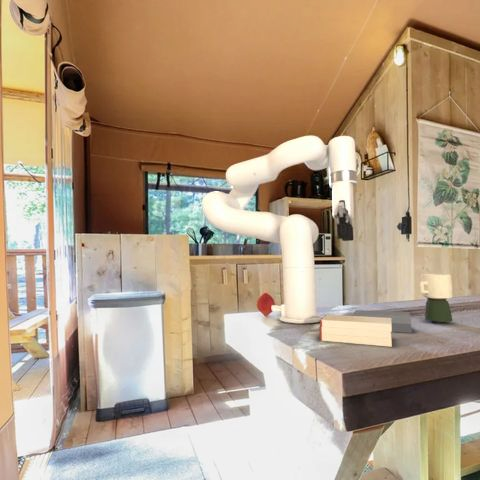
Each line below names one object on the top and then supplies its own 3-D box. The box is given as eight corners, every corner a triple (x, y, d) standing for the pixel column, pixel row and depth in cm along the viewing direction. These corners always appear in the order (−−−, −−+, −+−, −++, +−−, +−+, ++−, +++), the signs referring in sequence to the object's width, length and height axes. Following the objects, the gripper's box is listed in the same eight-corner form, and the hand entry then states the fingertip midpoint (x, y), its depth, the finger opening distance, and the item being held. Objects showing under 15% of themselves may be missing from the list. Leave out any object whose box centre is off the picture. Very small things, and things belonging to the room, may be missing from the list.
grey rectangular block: (351, 329, 78) (351, 313, 78) (353, 324, 83) (353, 309, 83) (411, 333, 72) (410, 315, 72) (409, 328, 77) (408, 312, 77)
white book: (319, 326, 67) (319, 319, 67) (326, 320, 74) (325, 314, 74) (391, 331, 61) (391, 324, 61) (391, 324, 67) (391, 317, 68)
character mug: (441, 318, 88) (438, 273, 89) (466, 323, 81) (462, 274, 82) (411, 321, 85) (408, 274, 86) (434, 326, 78) (431, 275, 79)
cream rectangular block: (319, 340, 67) (319, 326, 67) (325, 333, 74) (325, 320, 74) (391, 346, 61) (390, 331, 61) (391, 338, 67) (390, 324, 67)
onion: (275, 314, 101) (274, 290, 102) (275, 317, 96) (274, 291, 96) (257, 314, 102) (256, 290, 103) (257, 317, 96) (256, 292, 97)
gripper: (334, 188, 97) (336, 241, 96) (324, 175, 82) (327, 238, 81) (359, 185, 94) (362, 240, 93) (354, 170, 79) (357, 237, 77)
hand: (345, 239), depth 87 cm, fingers open, 9 cm apart
